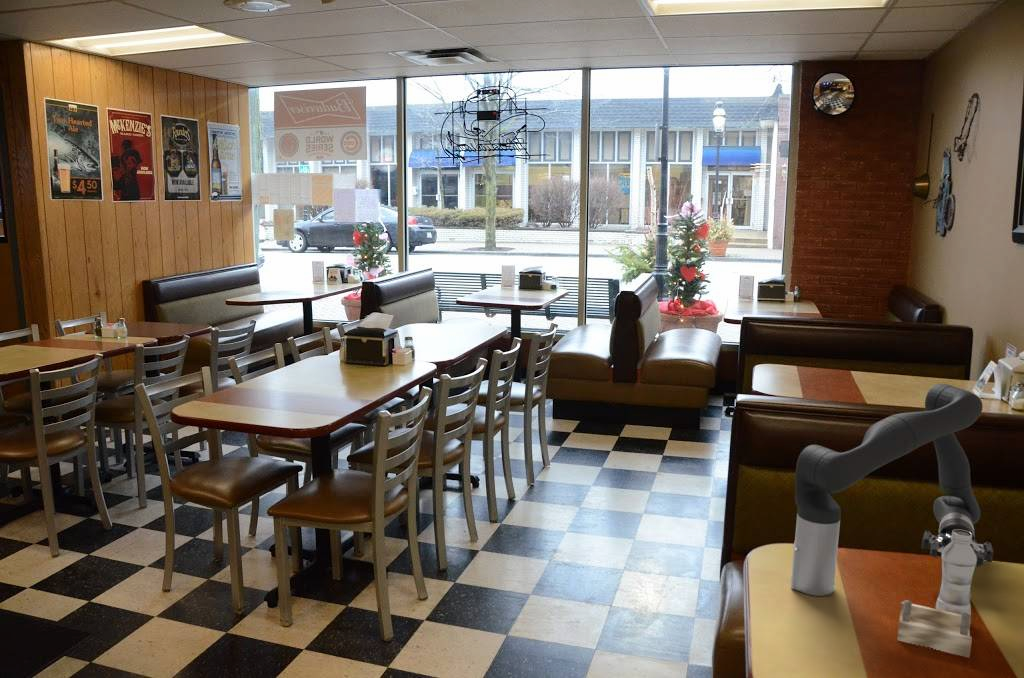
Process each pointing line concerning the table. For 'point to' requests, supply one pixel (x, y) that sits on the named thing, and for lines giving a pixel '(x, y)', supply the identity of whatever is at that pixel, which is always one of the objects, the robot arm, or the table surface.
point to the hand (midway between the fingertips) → (956, 557)
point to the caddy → (935, 629)
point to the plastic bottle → (957, 574)
